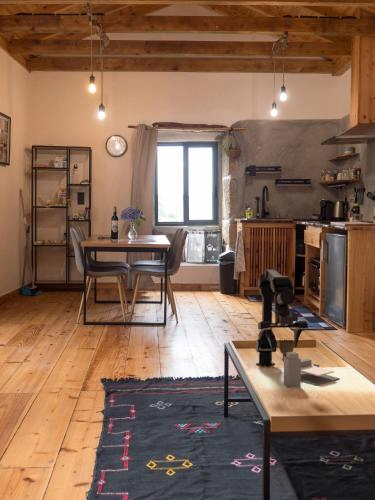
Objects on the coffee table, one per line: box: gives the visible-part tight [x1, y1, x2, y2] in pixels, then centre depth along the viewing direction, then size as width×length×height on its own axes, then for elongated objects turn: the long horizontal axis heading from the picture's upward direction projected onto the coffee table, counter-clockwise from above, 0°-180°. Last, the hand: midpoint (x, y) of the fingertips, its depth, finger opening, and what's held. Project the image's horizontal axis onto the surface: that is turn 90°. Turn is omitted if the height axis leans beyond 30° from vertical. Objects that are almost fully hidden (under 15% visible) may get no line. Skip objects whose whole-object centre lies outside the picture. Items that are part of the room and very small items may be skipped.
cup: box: [278, 339, 295, 358], centre depth 256 cm, size 8×7×8 cm
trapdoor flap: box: [300, 358, 335, 376], centre depth 220 cm, size 14×10×3 cm
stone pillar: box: [283, 351, 302, 389], centre depth 209 cm, size 5×5×13 cm
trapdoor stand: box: [301, 363, 341, 386], centre depth 220 cm, size 17×15×4 cm
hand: (283, 347), depth 207 cm, fingers open, 9 cm apart
